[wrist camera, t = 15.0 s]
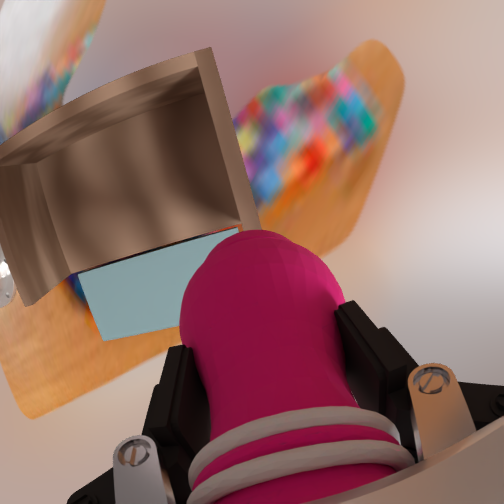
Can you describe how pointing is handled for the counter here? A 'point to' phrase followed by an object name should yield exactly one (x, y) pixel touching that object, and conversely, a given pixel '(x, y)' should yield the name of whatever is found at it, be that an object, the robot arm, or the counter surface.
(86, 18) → the counter surface
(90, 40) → the counter surface
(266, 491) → the pepper mill
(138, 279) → the panel
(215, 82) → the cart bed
